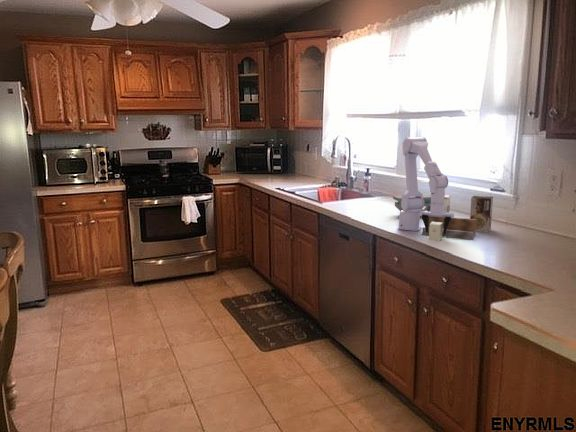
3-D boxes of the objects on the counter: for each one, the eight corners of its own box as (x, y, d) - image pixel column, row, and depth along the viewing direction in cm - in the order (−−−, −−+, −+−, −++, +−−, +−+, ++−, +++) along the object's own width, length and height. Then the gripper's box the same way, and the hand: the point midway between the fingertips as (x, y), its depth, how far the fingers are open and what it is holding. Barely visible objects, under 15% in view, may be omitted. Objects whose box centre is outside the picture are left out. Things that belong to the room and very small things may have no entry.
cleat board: (421, 234, 219) (422, 219, 217) (426, 229, 229) (427, 215, 227) (472, 239, 209) (473, 224, 207) (475, 234, 219) (476, 219, 217)
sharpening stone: (434, 213, 267) (435, 194, 264) (441, 216, 259) (442, 196, 257) (392, 215, 263) (393, 196, 261) (397, 218, 256) (398, 198, 254)
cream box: (428, 239, 210) (429, 224, 208) (431, 236, 215) (432, 221, 214) (439, 240, 208) (440, 225, 206) (441, 237, 213) (442, 222, 212)
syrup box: (437, 221, 246) (438, 194, 243) (449, 222, 243) (450, 195, 240) (434, 223, 241) (436, 195, 238) (446, 225, 238) (448, 196, 235)
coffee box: (491, 229, 227) (493, 196, 224) (489, 232, 222) (491, 198, 219) (471, 227, 232) (473, 195, 229) (468, 230, 227) (471, 197, 223)
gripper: (418, 202, 208) (417, 232, 211) (453, 205, 202) (451, 236, 204) (422, 200, 214) (420, 229, 217) (455, 202, 208) (453, 232, 210)
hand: (435, 232), depth 211 cm, fingers open, 7 cm apart
